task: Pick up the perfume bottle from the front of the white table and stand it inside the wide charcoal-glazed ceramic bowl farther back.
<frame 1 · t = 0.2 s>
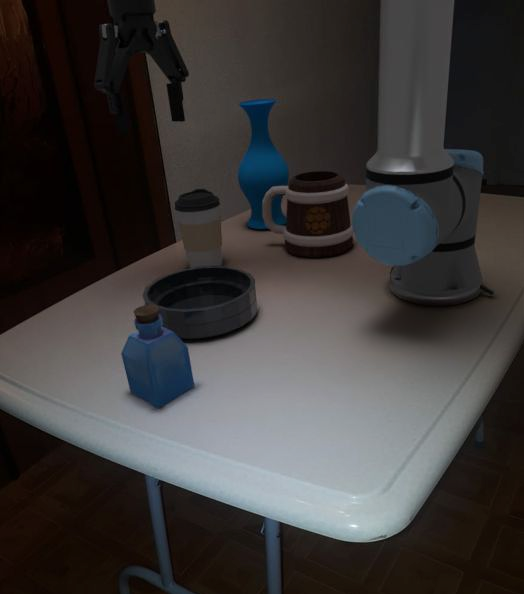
hand: (152, 127, 101), 28 cm above the table, tool pointing down, fingers open, 13 cm apart
perfume bottle: (162, 390, 76), on the table
vase: (267, 225, 138), on the table
mug: (308, 247, 121), on the table
coffee cup: (205, 265, 116), on the table
bowl: (203, 316, 95), on the table
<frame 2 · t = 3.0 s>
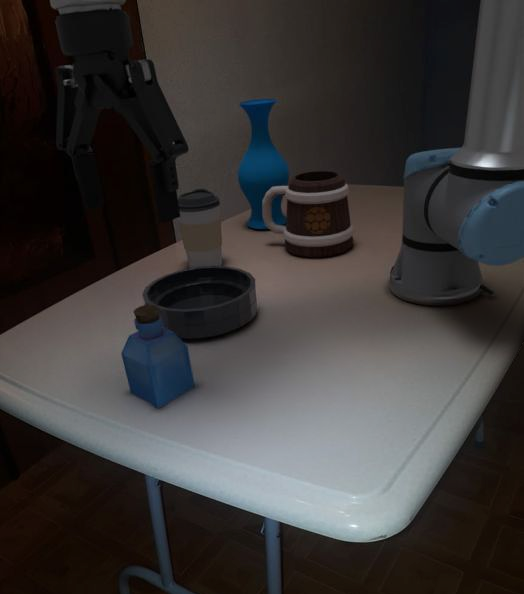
hand: (130, 213, 68), 23 cm above the table, tool pointing down, fingers open, 13 cm apart
nothing on the table moved.
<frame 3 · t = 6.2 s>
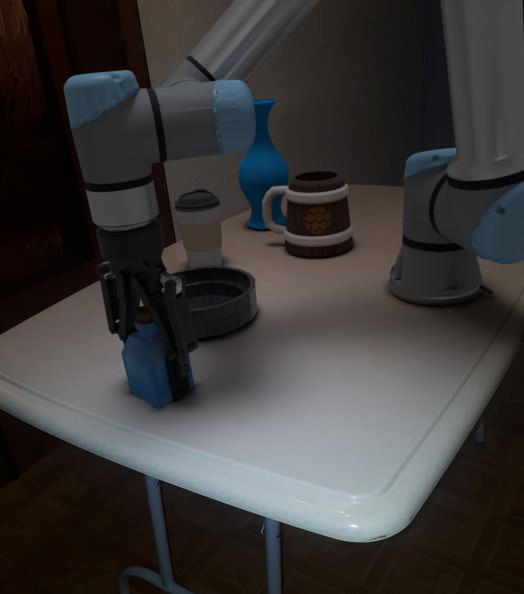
hand: (162, 387, 75), 0 cm above the table, tool pointing down, fingers closed on perfume bottle, 7 cm apart
perfume bottle: (162, 390, 76), on the table, touching gripper
everything else where it was.
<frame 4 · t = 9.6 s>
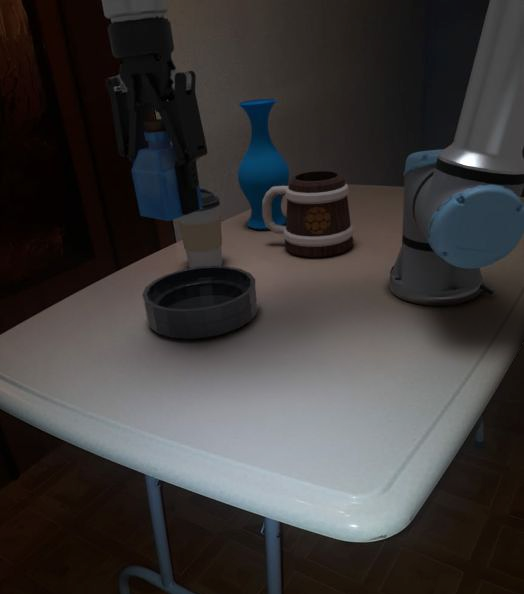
hand: (171, 209, 78), 21 cm above the table, tool pointing down, fingers closed on perfume bottle, 7 cm apart
perfume bottle: (171, 213, 78), point 20 cm above the table, touching gripper
everything else where it was.
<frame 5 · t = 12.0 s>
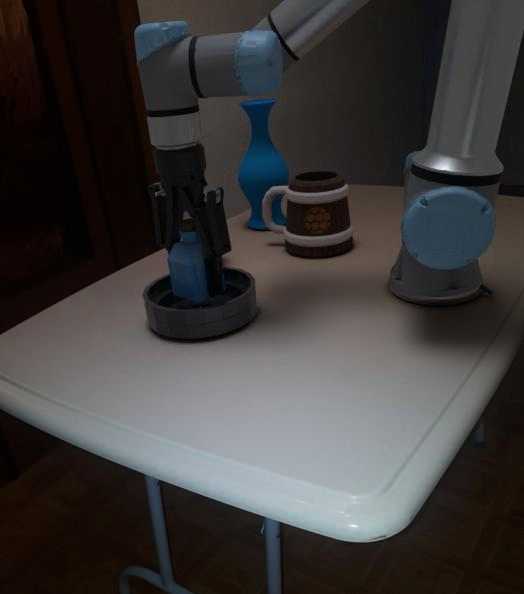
hand: (199, 289, 92), 5 cm above the table, tool pointing down, fingers closed on perfume bottle, 7 cm apart
perfume bottle: (199, 293, 93), point 4 cm above the table, touching gripper
everything else where it was.
when the fingers open (1 cm above the table, at t = 13.5 s): perfume bottle stays where it is, resting on bowl.
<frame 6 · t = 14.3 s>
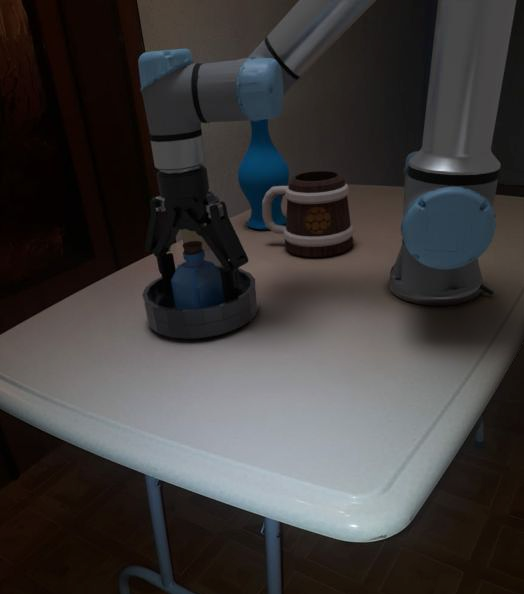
hand: (201, 298, 93), 3 cm above the table, tool pointing down, fingers open, 13 cm apart
perfume bottle: (202, 313, 94), point 1 cm above the table, touching bowl
everything else where it was.
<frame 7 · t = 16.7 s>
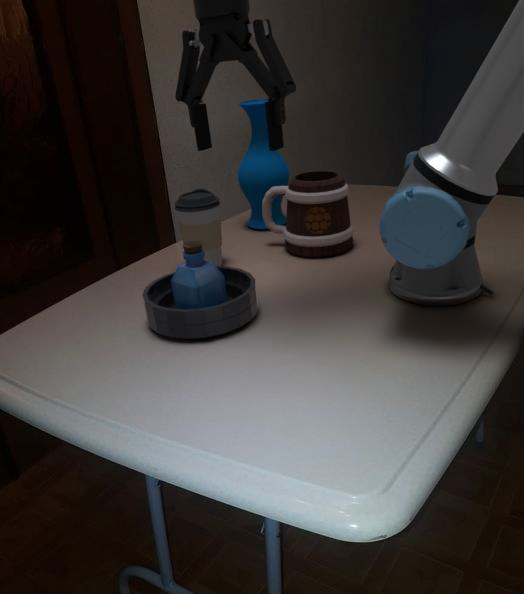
hand: (239, 149, 84), 26 cm above the table, tool pointing down, fingers open, 13 cm apart
nothing on the table moved.
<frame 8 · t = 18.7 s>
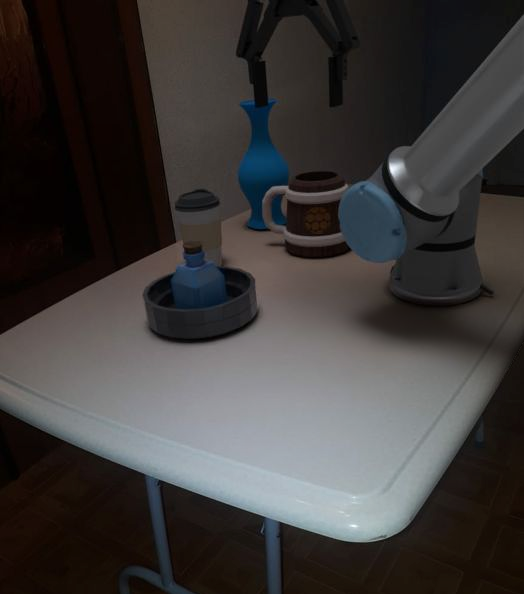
hand: (297, 106, 86), 31 cm above the table, tool pointing down, fingers open, 13 cm apart
nothing on the table moved.
at the end: perfume bottle inside the target area in the bowl (0.1 cm from its centre), point 0.6 cm above the bowl's base; perfume bottle tilted 0°; the gripper is holding nothing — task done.
